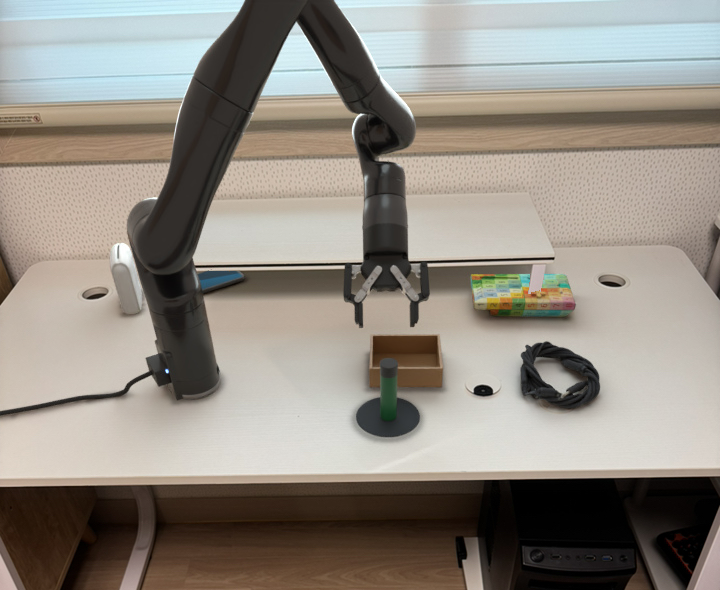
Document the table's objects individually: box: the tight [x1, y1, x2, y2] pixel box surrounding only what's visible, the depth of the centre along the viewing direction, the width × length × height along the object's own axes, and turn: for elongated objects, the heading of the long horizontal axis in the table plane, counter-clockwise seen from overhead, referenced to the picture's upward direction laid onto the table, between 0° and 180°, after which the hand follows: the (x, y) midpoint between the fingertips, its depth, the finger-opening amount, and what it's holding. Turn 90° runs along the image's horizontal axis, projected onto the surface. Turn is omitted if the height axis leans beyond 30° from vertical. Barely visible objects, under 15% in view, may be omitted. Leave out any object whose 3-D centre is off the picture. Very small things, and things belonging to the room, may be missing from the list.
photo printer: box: [109, 242, 143, 315], centre depth 145 cm, size 10×4×12 cm, turn 12°
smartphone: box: [197, 270, 246, 294], centre depth 154 cm, size 8×15×1 cm, turn 123°
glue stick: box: [379, 358, 398, 421], centre depth 115 cm, size 3×3×11 cm
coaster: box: [355, 396, 421, 438], centre depth 119 cm, size 11×11×1 cm
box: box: [368, 333, 444, 388], centre depth 127 cm, size 13×11×4 cm
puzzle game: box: [469, 273, 577, 318], centre depth 143 cm, size 12×5×20 cm
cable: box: [520, 340, 601, 409], centre depth 125 cm, size 17×14×4 cm
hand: (386, 326), depth 115 cm, fingers open, 8 cm apart
